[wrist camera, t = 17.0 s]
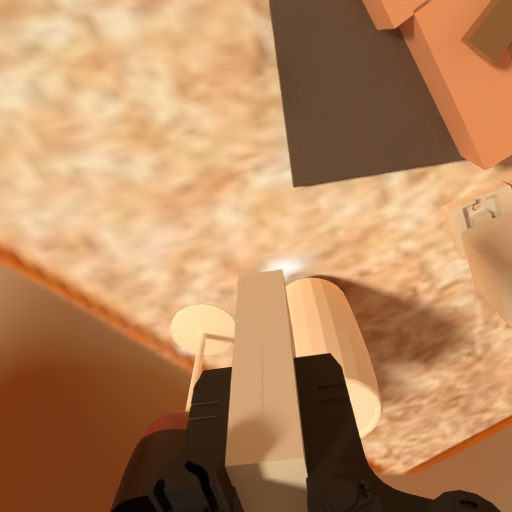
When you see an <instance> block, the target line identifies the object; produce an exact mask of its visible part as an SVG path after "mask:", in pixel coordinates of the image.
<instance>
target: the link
mask: <svg viewBox="0 0 512 512" xmlns="http://www.w3.org/2000/svg"><path fill="white" fill-rule="evenodd" d="M362 1H363V3H364V5H365V7H366V9H367V11H368V13H369V15H370V17H371V19H372V21H373V23H374V25H375V27H376V28H377V30H383V29H395V28H396V27H399V29H400V31H401V33H402V35H403V37H404V39H405V42H406V44H407V46H408V48H409V50H410V52H411V54H412V56H413V58H414V60H415V62H416V64H417V66H418V68H419V70H420V73H421V75H422V77H423V79H424V81H425V83H426V85H427V87H428V89H429V91H430V93H431V95H432V97H433V99H434V102H435V104H436V106H437V108H438V110H439V112H440V114H441V116H442V118H443V120H444V122H445V124H446V126H447V128H448V131H449V133H450V135H451V137H452V139H453V141H454V143H455V145H456V147H457V149H458V151H459V153H460V155H461V156H462V157H463V158H465V159H467V160H469V161H470V162H472V163H474V164H476V165H477V166H479V167H481V168H483V169H484V170H487V169H489V168H491V167H492V166H494V165H496V164H497V163H499V162H501V161H502V160H504V159H506V158H507V157H509V156H511V155H512V57H511V55H510V52H509V49H508V47H507V48H506V49H505V50H504V52H503V53H502V54H501V55H500V56H499V58H498V59H497V60H496V61H495V62H494V63H493V62H485V61H484V60H483V59H482V58H481V57H479V56H478V55H477V54H476V53H475V52H474V51H472V50H471V49H470V48H469V47H468V46H467V45H466V44H464V43H463V42H462V41H461V39H462V37H463V36H464V35H465V33H466V32H467V31H468V30H469V28H470V27H471V26H472V24H473V23H474V22H475V21H476V19H477V18H478V17H479V15H480V14H481V13H482V12H483V10H484V9H485V8H486V6H487V5H488V4H489V3H490V0H362Z"/></svg>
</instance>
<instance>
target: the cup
mask: <svg viewBox="0 0 512 512" xmlns="http://www.w3.org/2000/svg"><path fill="white" fill-rule="evenodd" d="M286 293H287V299H288V305H289V311H290V317H291V322H292V328H293V335H294V343H295V351H296V357H303V356H310V355H318V354H326V353H331V355H332V356H333V357H334V358H335V359H336V360H337V362H338V363H339V364H340V365H341V366H342V370H343V374H344V377H345V381H346V386H347V389H348V393H349V397H350V401H351V404H352V408H353V412H354V416H355V420H356V424H357V427H358V431H359V435H360V438H362V437H364V436H365V435H367V434H368V433H369V432H371V431H372V430H373V429H374V427H375V426H376V424H377V423H378V422H379V420H380V417H381V414H382V401H381V397H380V393H379V388H378V384H377V380H376V376H375V373H374V369H373V366H372V362H371V359H370V356H369V353H368V350H367V348H366V345H365V342H364V339H363V337H362V334H361V332H360V329H359V327H358V324H357V322H356V319H355V317H354V314H353V312H352V310H351V307H350V305H349V303H348V301H347V299H346V297H345V295H344V293H343V291H342V290H341V289H340V288H339V287H338V286H336V285H335V284H333V283H331V282H330V281H327V280H323V279H320V278H305V279H300V280H297V281H295V282H292V283H290V284H288V285H287V286H286Z"/></svg>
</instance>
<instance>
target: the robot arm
mask: <svg viewBox="0 0 512 512" xmlns="http://www.w3.org/2000/svg"><path fill="white" fill-rule="evenodd" d="M188 419H189V422H188V423H187V429H186V434H185V440H184V446H183V451H182V456H180V457H177V458H174V459H172V460H171V461H170V462H168V463H167V464H165V465H164V466H162V467H161V468H160V470H159V471H158V472H157V473H156V475H155V476H154V477H153V478H152V480H151V483H150V485H149V488H148V490H147V492H146V493H147V495H148V497H149V499H150V500H151V502H152V504H153V505H154V507H155V509H156V510H157V511H156V512H501V511H500V510H498V509H497V507H496V506H494V505H493V504H492V503H491V502H489V501H487V500H485V499H484V498H482V497H480V496H479V495H477V494H474V493H470V492H465V491H461V490H456V491H449V492H444V493H443V494H441V495H440V496H439V497H437V498H436V499H434V500H432V499H428V498H424V497H420V496H416V495H412V494H407V493H404V492H401V491H398V490H395V489H393V488H392V487H390V486H389V485H387V484H385V483H384V482H383V481H381V480H380V479H379V478H378V477H377V476H376V475H375V474H374V472H373V471H372V469H371V468H370V466H369V465H368V462H367V460H366V457H365V454H364V450H363V447H362V443H361V439H360V435H359V431H358V427H357V424H356V420H355V416H354V412H353V408H352V404H351V401H350V397H349V393H348V389H347V386H346V381H345V377H344V374H343V370H342V366H341V365H340V364H339V363H338V362H337V360H336V359H335V358H334V357H333V356H332V355H331V353H326V354H318V355H310V356H303V357H296V351H295V343H294V335H293V328H292V322H291V317H290V311H289V305H288V299H287V293H286V287H285V282H284V276H283V270H275V271H269V272H262V273H256V274H249V275H243V276H239V277H238V291H237V305H236V319H235V333H234V347H233V361H232V367H227V368H220V369H212V370H204V371H203V373H202V374H201V376H200V377H199V379H198V381H197V382H196V384H195V385H194V389H193V395H192V400H191V407H190V412H189V417H188Z"/></svg>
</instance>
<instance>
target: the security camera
mask: <svg viewBox="0 0 512 512" xmlns="http://www.w3.org/2000/svg"><path fill="white" fill-rule="evenodd" d="M476 202H477V203H478V204H479V208H478V209H476V210H473V209H472V207H473V204H474V203H476ZM443 212H444V215H445V218H446V222H447V225H448V228H449V232H450V235H451V238H452V242H453V245H454V248H455V250H456V251H457V253H458V254H459V255H460V256H461V257H465V256H467V259H468V263H469V266H470V270H471V273H472V277H473V280H474V284H475V287H476V289H477V290H478V292H479V293H480V294H481V295H482V296H483V297H484V298H485V300H486V301H487V302H488V303H489V304H490V305H491V306H492V307H493V309H494V310H495V311H496V312H497V313H498V314H499V315H500V317H501V318H502V319H503V320H504V321H505V322H506V323H507V324H508V325H509V326H512V187H511V186H510V185H508V184H507V183H505V182H503V181H499V182H496V183H494V184H492V185H489V186H487V187H485V188H482V189H480V190H478V191H476V192H473V193H471V194H469V195H466V196H464V197H462V198H459V199H457V200H455V201H452V202H450V203H448V204H445V205H444V206H443Z"/></svg>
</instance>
